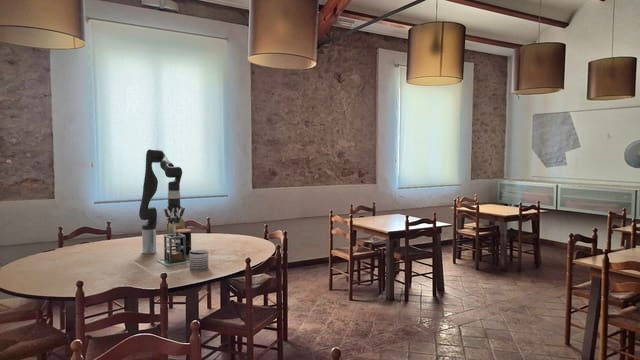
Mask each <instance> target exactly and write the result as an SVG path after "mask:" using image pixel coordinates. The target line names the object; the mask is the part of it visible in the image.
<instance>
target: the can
mask: <svg viewBox="0 0 640 360" xmlns="http://www.w3.org/2000/svg"><path fill="white" fill-rule="evenodd" d="M189 252H190V253H189V254H190V255H189V259H190V262H189V271H190V272H193V273H194V272H195V273H199V272H205V271H208V270H209V250H206V249H193V250H192V249H191V251H189Z"/></svg>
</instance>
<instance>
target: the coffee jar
mask: <svg viewBox="0 0 640 360" xmlns="http://www.w3.org/2000/svg"><path fill="white" fill-rule="evenodd" d="M175 231H176V234H178V233H180V234H182V235H185V236H186V257H187V256H190V254H189V253H190V252H189V251H191V250H192V232H191V231H192V229H190V228H187V229H178V230H175ZM177 236H178V235H177ZM177 236H176V237H177ZM176 240H178V238H176ZM174 245H178V243H174ZM180 245H181V246H183V238H180ZM176 248H178V247H174V249H176ZM180 248H181V247H180ZM175 251H178V250H175ZM180 251H181V252H183V249H182V250H180Z"/></svg>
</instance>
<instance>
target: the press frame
mask: <svg viewBox="0 0 640 360" xmlns="http://www.w3.org/2000/svg"><path fill="white" fill-rule="evenodd" d="M177 235H178V236H177ZM170 236H174V234H170V235H168V234H164V235H163V243H164V244H163V251H164V254H163V255H164V258H163V259H164V261H165V262H166V263H168V264H173V263H179V262H185V261H187V260H186V257H187V256H186V236H185V235H182V234H180V233H178V234H176V236H177V237H170ZM176 238H178V240H180V238H183V246H181V245H180V242H179V243H178V245H175V244H174V245H173V243H172V239H176ZM167 240H168V241H167ZM167 242H168V243H167ZM167 244H169V245H167ZM175 247H178V248H176V249H175ZM180 247H181V248H180ZM182 249H183V252H181V251H180V250H182ZM175 250H178V251H175Z"/></svg>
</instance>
